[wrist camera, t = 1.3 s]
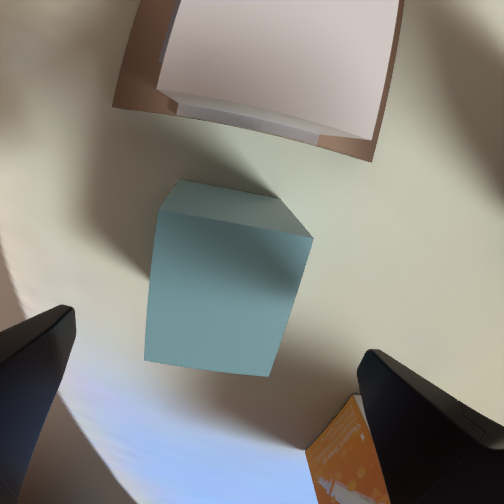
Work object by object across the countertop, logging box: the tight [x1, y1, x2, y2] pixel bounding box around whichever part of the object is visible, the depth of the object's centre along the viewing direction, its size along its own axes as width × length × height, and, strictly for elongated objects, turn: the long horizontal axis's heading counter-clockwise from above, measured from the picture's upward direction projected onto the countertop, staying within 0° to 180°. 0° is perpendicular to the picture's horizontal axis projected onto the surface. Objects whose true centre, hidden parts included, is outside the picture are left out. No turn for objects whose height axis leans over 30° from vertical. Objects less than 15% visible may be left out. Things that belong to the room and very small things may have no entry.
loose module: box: [144, 180, 314, 377], centre depth 14 cm, size 5×6×6 cm
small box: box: [305, 395, 390, 504], centre depth 18 cm, size 8×6×13 cm
